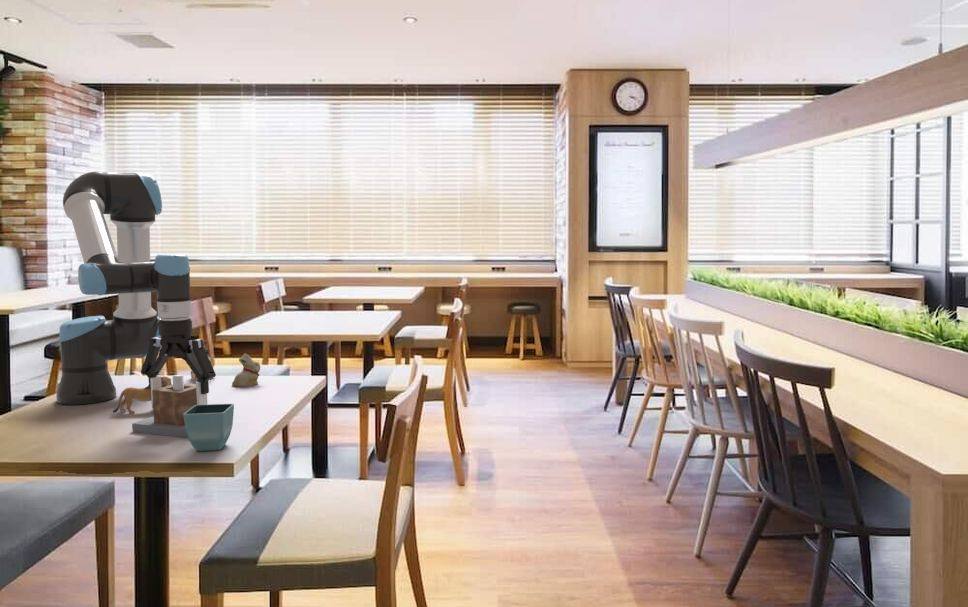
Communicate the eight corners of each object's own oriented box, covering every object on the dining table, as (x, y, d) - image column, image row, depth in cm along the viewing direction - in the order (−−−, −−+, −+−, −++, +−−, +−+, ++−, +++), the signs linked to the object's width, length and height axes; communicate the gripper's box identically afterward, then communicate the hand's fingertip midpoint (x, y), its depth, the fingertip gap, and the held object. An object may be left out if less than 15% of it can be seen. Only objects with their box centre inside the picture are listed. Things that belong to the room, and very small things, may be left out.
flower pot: (196, 442, 167) (194, 404, 167) (236, 441, 168) (234, 403, 167) (184, 454, 159) (182, 414, 158) (226, 453, 159) (224, 412, 159)
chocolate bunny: (256, 386, 226) (255, 354, 225) (230, 386, 226) (229, 354, 225) (261, 382, 232) (260, 351, 231) (237, 382, 232) (235, 351, 231)
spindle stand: (132, 431, 177) (129, 378, 176) (168, 419, 188) (166, 369, 187) (193, 438, 171) (190, 383, 170) (227, 424, 182) (225, 373, 181)
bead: (154, 422, 177) (152, 390, 176) (179, 414, 185) (177, 383, 184) (182, 425, 174) (180, 392, 173) (206, 417, 182) (204, 385, 181)
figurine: (185, 379, 237) (184, 342, 236) (202, 375, 244) (200, 339, 243) (202, 381, 235) (200, 344, 233) (218, 377, 241) (217, 340, 240)
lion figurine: (172, 406, 202) (171, 374, 201) (173, 410, 197) (171, 377, 196) (112, 412, 196) (110, 379, 195) (112, 417, 191) (110, 383, 190)
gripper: (121, 318, 177) (127, 404, 180) (207, 322, 169) (211, 412, 171) (145, 315, 184) (150, 398, 187) (228, 318, 176) (232, 405, 179)
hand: (179, 405), depth 179 cm, fingers open, 13 cm apart
